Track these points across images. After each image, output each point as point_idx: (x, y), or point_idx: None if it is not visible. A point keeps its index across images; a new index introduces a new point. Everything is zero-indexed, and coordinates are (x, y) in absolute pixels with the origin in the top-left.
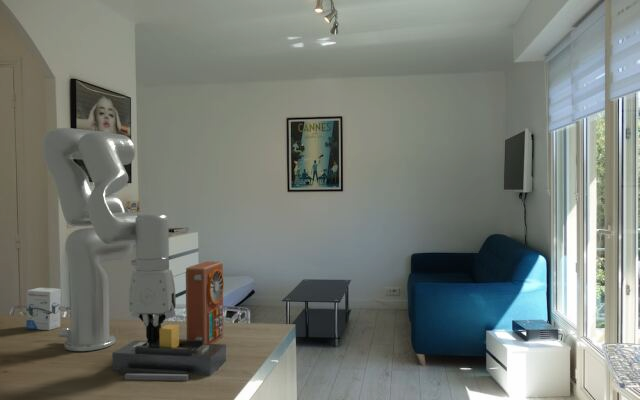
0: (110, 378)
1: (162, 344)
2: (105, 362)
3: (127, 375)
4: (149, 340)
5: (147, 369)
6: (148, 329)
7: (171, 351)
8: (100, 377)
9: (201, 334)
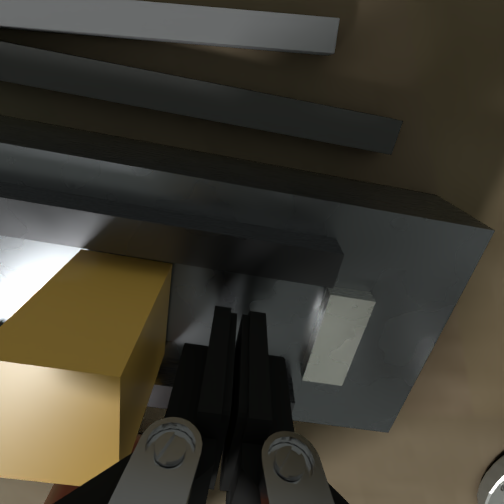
0: (425, 50)
1: (138, 280)
2: (488, 298)
3: (319, 16)
4: (249, 320)
5: (216, 111)
6: (256, 391)
7: (44, 195)
8: (488, 71)
9: (68, 493)
